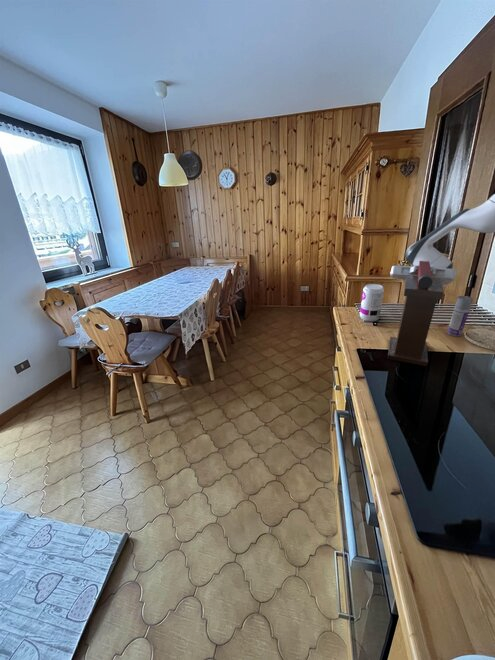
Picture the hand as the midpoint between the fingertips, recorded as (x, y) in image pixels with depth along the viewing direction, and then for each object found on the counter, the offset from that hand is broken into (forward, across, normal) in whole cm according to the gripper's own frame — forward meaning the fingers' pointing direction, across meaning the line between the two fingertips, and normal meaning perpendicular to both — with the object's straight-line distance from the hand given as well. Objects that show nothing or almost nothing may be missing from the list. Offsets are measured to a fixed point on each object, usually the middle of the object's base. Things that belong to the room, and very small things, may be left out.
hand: (424, 268), depth 96 cm
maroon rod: (+4, 0, +4) cm, 5 cm away
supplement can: (-27, -16, +17) cm, 35 cm away
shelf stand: (-5, 0, +29) cm, 30 cm away
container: (-24, +16, +19) cm, 34 cm away
